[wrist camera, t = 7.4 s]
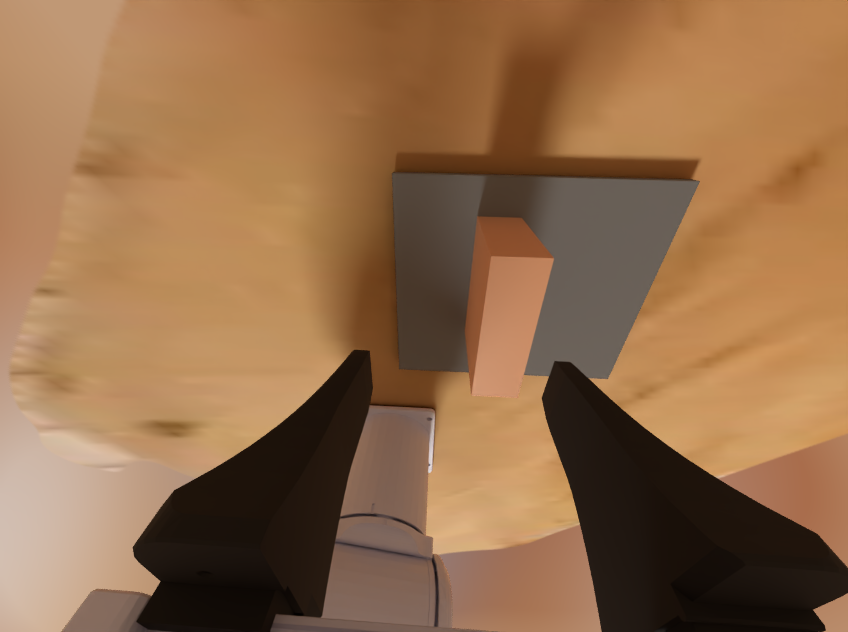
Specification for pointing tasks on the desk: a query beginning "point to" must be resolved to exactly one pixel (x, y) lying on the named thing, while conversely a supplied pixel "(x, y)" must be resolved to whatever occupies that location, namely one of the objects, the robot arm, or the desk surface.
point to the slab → (503, 303)
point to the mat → (560, 234)
